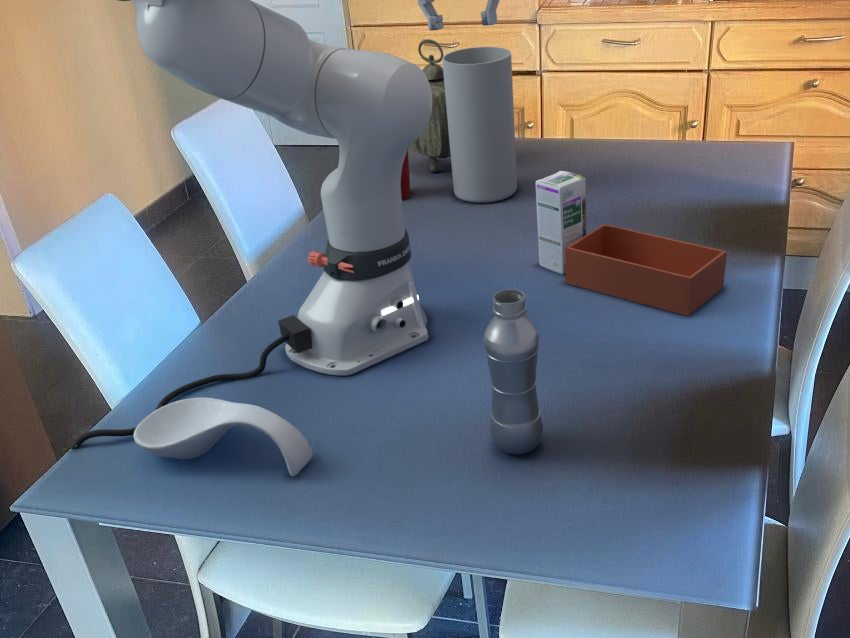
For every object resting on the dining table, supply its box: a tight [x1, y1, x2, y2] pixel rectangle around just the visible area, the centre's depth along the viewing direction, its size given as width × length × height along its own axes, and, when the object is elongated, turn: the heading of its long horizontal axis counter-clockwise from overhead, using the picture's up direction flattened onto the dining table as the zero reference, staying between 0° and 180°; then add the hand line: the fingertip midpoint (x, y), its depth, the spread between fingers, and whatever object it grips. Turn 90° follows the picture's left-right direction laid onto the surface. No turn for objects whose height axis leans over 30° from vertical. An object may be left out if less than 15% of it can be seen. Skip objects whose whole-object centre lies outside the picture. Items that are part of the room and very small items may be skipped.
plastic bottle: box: [483, 288, 544, 455], centre depth 109 cm, size 6×7×20 cm
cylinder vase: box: [441, 46, 518, 204], centre depth 176 cm, size 12×12×25 cm
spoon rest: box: [133, 396, 314, 477], centre depth 116 cm, size 24×12×7 cm, turn 68°
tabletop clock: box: [408, 38, 451, 174], centre depth 188 cm, size 14×9×25 cm, turn 45°
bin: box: [565, 223, 728, 317], centre depth 145 cm, size 22×11×6 cm, turn 51°
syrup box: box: [535, 170, 587, 275], centre depth 151 cm, size 6×6×14 cm
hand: (462, 27), depth 133 cm, fingers open, 8 cm apart
